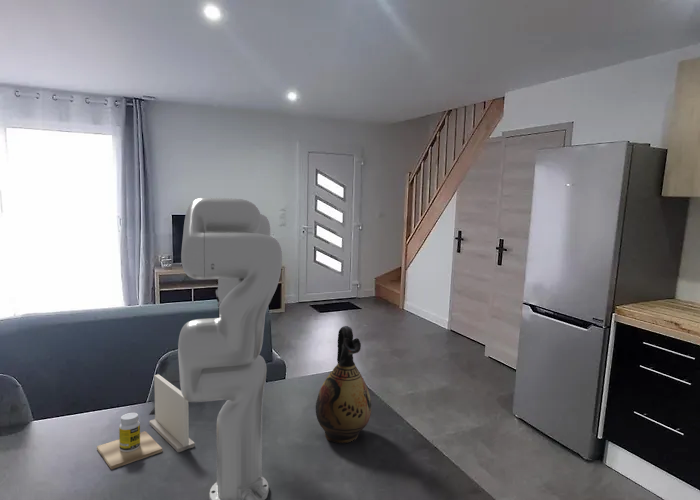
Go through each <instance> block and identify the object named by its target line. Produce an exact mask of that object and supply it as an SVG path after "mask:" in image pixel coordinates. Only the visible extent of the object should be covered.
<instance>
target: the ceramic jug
mask: <svg viewBox="0 0 700 500" xmlns="http://www.w3.org/2000/svg"><path fill="white" fill-rule="evenodd" d="M353 333H354V332H353V328H352V327H351V326H348V325H344V326H342V327H341V328H339V330H338V334H337V335H338V336H337V358H336V359H337V360H336V361H337V364H336V366H334V368H333V369H332V370H331V371H330V373H329V374H328V376H327V377H326V379H325V380H324V382H323V383H322V385H321V386H320V389H319V392H318V394H317V398H316V401H315V416H316V419H317V422H318V424H319V426H320V427H321V429H322V430H323V431H324V435H325V438H326V440H327V441H328V442H332V443H336V444H340V443H341V444H342V445H344V444H343V443H346V444H348V443H352V442H354V441H355V440H357V438H358V437H359V434H360V432H361V431H362V430H363V429H364V428H365V427H366V426H367V425H368V423H369V421H370V418H371V415H372V405H373V404H372V398H371V396H370V395H371V394H370V391H369V388H368V385H367V383H366V381H365V380H364V378H363V376H362V374H361V372H360V371H359V370H358V368H357V366H356V363H355V362H354V356H353V355H354V354H358V353H359V352H360V351H361V349H362V348H361V347H362V343H361V340H360V339H359V338H357V337H356V338H354V334H353ZM354 439H355V440H354ZM353 440H354V441H353ZM351 441H352V442H351Z"/></svg>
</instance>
